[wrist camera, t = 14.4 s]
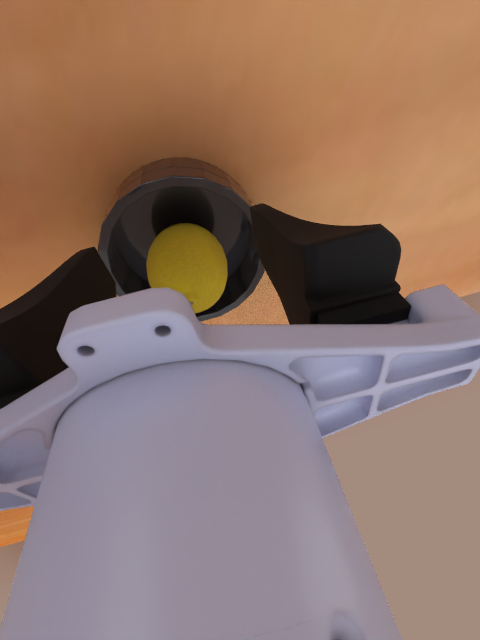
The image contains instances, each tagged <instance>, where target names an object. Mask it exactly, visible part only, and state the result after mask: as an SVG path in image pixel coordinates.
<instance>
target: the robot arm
mask: <svg viewBox="0 0 480 640" xmlns="http://www.w3.org/2000/svg"><path fill="white" fill-rule="evenodd" d="M250 213H251V220H252V226H253V232H254V239H255V245H256V249H257V252H258V255H259V257H260V260H261V263H262V265H263V267H264V268H265V270H266V272H267V274H268V276H269V278H270V280H271V282H272V284H273V285H274V287H275V289H276V291H277V293H278V295H279V297H280V299H281V302H282V305H283V307H284V310H285V313H286V315H287V318H288V321H289V324H290V325H206V324H203V323H201V322H200V321H199V320H198V319H197V317H196V315H195V313H194V310H193V308H192V305H191V303H190V302H189V301H188V300H187V298H186V297H185V296H184V295H183V294H182V293H180V292H178V291H175V290H173V289H170V288H150V289H146V290H142V291H138V292H134V293H130V294H126V295H122V296H119V297H116V282H115V280H114V279H113V277H112V275H111V274H110V272H109V270H108V269H107V267H106V265H105V264H104V262H103V260H102V259H101V257H100V255H99V254H98V252H97V250H96V249H95V247H91V248H87V249H84V250H80V251H79V252H77V253H76V254H74V255H73V256H72V257H70V258H69V259H68V260H67V261H66V262H64V263H63V264H62V265H61V266H60V267H59V268H57V269H56V270H55V271H54V272H53V273H52V274H50V275H49V276H48V277H47V278H45V279H44V280H43V281H42V282H41V283H39V284H38V285H37V286H35V287H34V288H33V289H31V290H30V291H29V292H27V293H26V294H24V295H23V296H21V297H20V298H18V299H17V300H15V301H13V302H12V303H10V304H8V305H6V306H5V307H3V308H1V309H0V511H1V510H8V509H14V508H22V507H29V506H34V510H33V513H32V517H31V520H30V524H29V527H28V531H27V535H26V538H25V542H24V545H23V549H22V552H21V556H20V559H19V563H18V567H17V570H16V573H15V577H14V581H13V584H12V588H11V591H10V595H9V598H8V602H7V606H6V609H5V612H4V616H3V620H2V623H1V627H0V640H402V638H401V636H400V633H399V630H398V628H397V625H396V623H395V620H394V618H393V615H392V613H391V610H390V608H389V605H388V602H387V601H386V598H385V595H384V593H383V590H382V587H381V585H380V582H379V580H378V578H377V575H376V572H375V570H374V567H373V565H372V562H371V560H370V557H369V555H368V552H367V550H366V547H365V544H364V542H363V539H362V537H361V534H360V532H359V529H358V527H357V524H356V522H355V519H354V517H353V514H352V512H351V509H350V507H349V504H348V502H347V499H346V497H345V494H344V492H343V489H342V487H341V484H340V482H339V479H338V476H337V474H336V472H335V469H334V466H333V464H332V461H331V459H330V456H329V454H328V451H327V449H326V446H325V444H324V441H323V439H322V438H325V437H327V436H329V435H332V434H334V433H337V432H339V431H341V430H344V429H346V428H348V427H351V426H353V425H356V424H358V423H360V422H363V421H365V420H368V419H370V418H373V417H375V416H377V415H380V414H382V413H385V412H387V411H389V410H392V409H394V408H397V407H399V406H402V405H404V404H407V403H409V402H412V401H415V400H417V399H420V398H423V397H426V396H429V395H432V394H435V393H437V392H440V391H444V390H447V389H451V388H454V387H457V386H461V385H465V384H468V383H469V382H470V381H471V380H472V378H473V376H474V375H475V374H476V372H477V371H478V369H479V368H480V315H479V314H478V313H477V312H475V311H474V310H473V309H472V308H471V307H470V306H468V305H467V304H466V303H465V302H464V301H463V300H462V299H460V298H459V297H458V296H457V295H456V294H455V293H453V292H452V291H451V290H450V289H449V288H448V287H447V286H445V285H444V284H443V285H438V286H434V287H430V288H427V289H423V290H419V291H415V292H413V293H411V294H409V295H408V296H407V297H406V298H405V299H404V298H403V297H402V295H401V294H400V293H399V291H400V289H401V288H400V285H399V284H398V283H397V282H396V281H395V277H396V273H397V269H398V265H399V261H400V256H401V247H400V243H399V241H398V239H397V238H396V237H395V236H394V235H393V234H392V233H391V232H390V231H388V230H387V229H386V228H385V227H384V226H382V225H381V224H373V225H362V226H335V225H326V224H319V223H314V222H309V221H305V220H302V219H299V218H296V217H293V216H290V215H288V214H285V213H283V212H281V211H278V210H276V209H274V208H272V207H270V206H268V205H266V204H259V205H255V206H251V207H250Z"/></svg>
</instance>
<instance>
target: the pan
mask: <svg viewBox="0 0 480 640" xmlns="http://www.w3.org/2000/svg"><path fill="white" fill-rule="evenodd" d="M251 206H252V205H251V203H250V201H249V199H248V197H247V195H246V194H245V192H244V190H243V189H242V188H241V187H240V186H239V185H238V183H237V182H236V181H235V180H234V179H233V178H232V177H230V176H229V175H228V174H227V173H225V172H224V171H222V170H221V169H219V168H218V167H215V166H213V165H211V164H209V163H207V162H203V161H200V160H197V159H190V158H167V159H161V160H158V161H154V162H151V163H149V164H147V165H144V166H142V167H141V168H139V169H137V170H136V171H134V172H133V173H132V174H131V175H130V176H128V177H127V178H126V179H125V180H124V181H123V183H122V184H121V185H120V186H119V188H118V189H117V191H116V193H115V195H114V196H113V198H112V200H111V202H110V204H109V206H108V209H107V212H106V215H105V218H104V220H103V223H102V227H101V233H100V239H99V245H98V253H99V255H100V257H101V259H102V260H103V262H104V264H105V265H106V267H107V269H108V270H109V272H110V274H111V275H112V277H113V279H114V280H115V282H116V294H117V295H118V296H122V295H126V294H130V293H134V292H138V291H142V290H146V289H150V288H151V286H150V284H149V281H148V276H147V267H146V262H147V257H148V251H149V248H150V246H151V245H152V243H153V241H154V239H155V238H156V237H157V236H158V235H159V234H160V233H161V231H163V230H164V229H166V228H168V227H170V226H172V225H175V224H179V223H191V224H195V225H199V226H201V227H203V228H205V229H207V230H208V231H209V232H210V233H212V234H213V235H214V236H215V237H216V239H217V240H218V241H219V243H220V244H221V246H222V248H223V250H224V253H225V256H226V259H227V271H228V275H227V281H226V285H225V289H224V291H223V293H222V295H221V297H220V298H219V300H218V301H217V302H216V303H215V304H214V305H213V306H211V307H210V308H208V309H207V310H204V311H201V312H199V313H195V315H196V317H197V319H198V320H199V321H204V320H208V319H211V318H215V317H219V316H221V315H223V314H225V313H227V312H229V311H230V310H232V309H234V308H236V307H238V306H239V305H240V304H241V303H242V302H243V301H244V300H245V299H246V298H247V297H248V296H249V295H251V294H252V293H253V291H254V290H255V288H256V286H257V284H258V283H259V281H260V279H261V277H262V276H263V273H264V270H265V268H264V267H263V265H262V263H261V260H260V257H259V255H258V262H257V265H255V263H254V261H253V256H254V253H255V252H256V251H257V249H256V245H255V239H254V232H253V226H252V220H251V213H250V207H251ZM257 253H258V252H257Z"/></svg>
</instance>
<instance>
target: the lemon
mask: <svg viewBox="0 0 480 640" xmlns="http://www.w3.org/2000/svg"><path fill="white" fill-rule="evenodd" d="M146 267H147V276H148V281H149V284H150V286H151V288H170V289H173V290H175V291H178V292H180V293H182V294H183V295H184V296H185V297H186V298H187V300H188V301H189V302H190V303H191V305H192V308H193V310H194V313H199V312H201V311H204V310H207V309H208V308H210V307H211V306H213V305H214V304H215V303H216V302H217V301H218V300H219V298H220V297H221V295H222V293H223V291H224V289H225V285H226V281H227V275H228V271H227V259H226V256H225V253H224V250H223V248H222V246H221V244H220V243H219V241H218V240H217V239H216V237H215V236H214V235H213V234H212V233H210V232H209V231H208V230H207V229H205V228H203V227H201V226H199V225H195V224H191V223H179V224H175V225H172V226H170V227H168V228H166V229H164V230H163V231H161V233H160V234H159V235H158V236H157V237H156V238H155V239H154V241H153V243H152V245H151V246H150V248H149V251H148V257H147V262H146Z"/></svg>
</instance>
